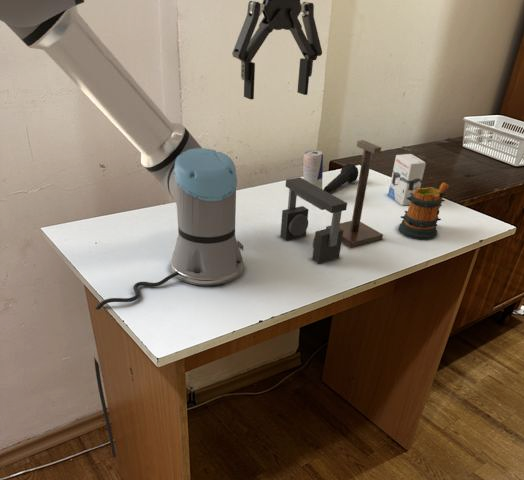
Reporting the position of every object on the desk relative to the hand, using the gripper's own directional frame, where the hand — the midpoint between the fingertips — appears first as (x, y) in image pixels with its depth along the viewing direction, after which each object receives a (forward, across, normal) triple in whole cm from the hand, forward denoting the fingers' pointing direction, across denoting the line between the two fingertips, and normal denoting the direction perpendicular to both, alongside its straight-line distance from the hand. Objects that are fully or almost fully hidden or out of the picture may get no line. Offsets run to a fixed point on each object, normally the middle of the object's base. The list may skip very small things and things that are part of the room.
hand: (276, 95), depth 108 cm
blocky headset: (+31, +4, -12) cm, 33 cm away
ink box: (+31, +47, +1) cm, 56 cm away
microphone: (+31, +35, +17) cm, 50 cm away
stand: (+31, +18, -12) cm, 37 cm away
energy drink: (+31, +24, +14) cm, 41 cm away
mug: (+31, +36, -17) cm, 50 cm away
